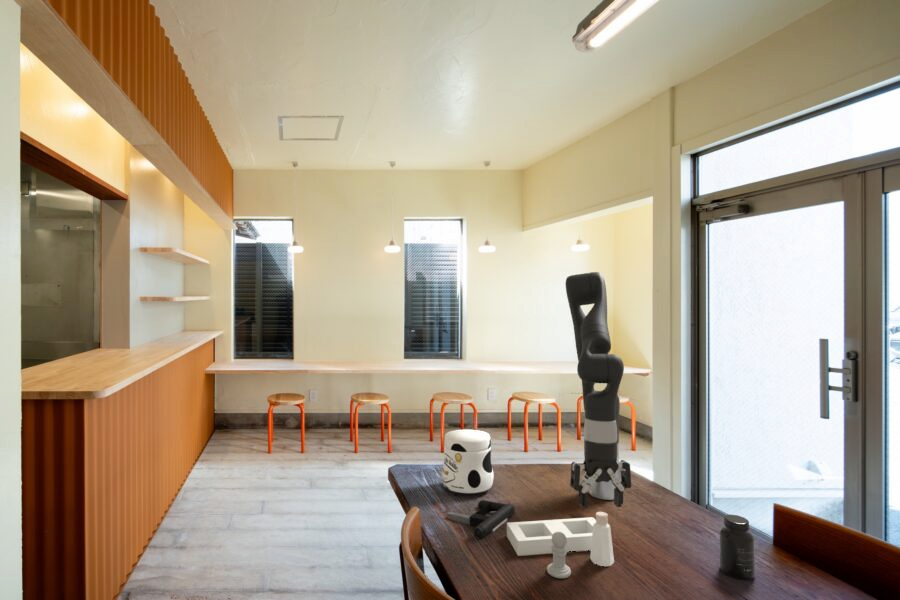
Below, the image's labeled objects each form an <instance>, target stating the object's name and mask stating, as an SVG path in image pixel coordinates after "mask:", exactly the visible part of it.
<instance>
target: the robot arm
mask: <svg viewBox="0 0 900 600" xmlns="http://www.w3.org/2000/svg"><path fill="white" fill-rule="evenodd" d="M565 293H566V297H567V302H568V307H569V311H570V315H571V320H572V325H573V331H574V332H573V333H574V342H575V349H576V354H577V361H578V363H577V368H576V369H577V370H576V371H577V375H578V377H579V379H580V380H581V387H582V388H581V389H582V400H583V401H582V402H583V410H584V415H585V418H584V426H583V434H584V436H583V446H584V447H583V448H584V449H583V453H584V454H583V456H584V460H583V463H582V462H581V463H580V462H579V463H578V462H575V461H572V462H571V465H570V482H569V486H570V487H571V488H572V489H573V490H574V491H576V492H577V493H578V495H577V496H578V504H579V505H580V507H581V508H582V509H583V510H587V509H588V493H589V495H590V496H591V497H593V498H595V499H596V498H597V499H599V500H605V501H607V500H608V501H611V500H612V501H613V503H614V505H615V506H616V507H617V508H622V505H624V491H625V490H626V489H631V487H632V478H631V477H632V474H631V464H630V463H629V462H627V461H626V460H624V459H621V460H620V439H619V438H620V435H619V434H620V409H621V407H620V406H621V405H620V403H621V402H620V397H619V395H618V393H619V390H620V385H621V381H622V379H623V376H624V369H625V368H624V367H625V366H624V362H623V360H622V358H621V357H620V356H619V355H617V354H615V353H610V352H611V349H612V342H611V336H610V332H609V326H608V298H607V286H606V281H605V278H604V275H603V274H602V273H601V272H598V271H593V272H587V273H579V274H577V273H576V274H573V275H569V276H567V277H566V280H565ZM588 305H593V306H592V307H591V309H590V311H589V312H587V314H586V315H585V313H584V310H583V309H582V307H581V306H588ZM595 384H606V386H605V388H604V389H603V390H596V389H595ZM583 471H585V472H584V474H583V475H582V476H581V473H582V472H583ZM580 479H581V480H580ZM588 490H589V492H588V493H587V491H588Z"/></svg>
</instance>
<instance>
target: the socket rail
mask: <svg viewBox="0 0 900 600" xmlns="http://www.w3.org/2000/svg"><path fill="white" fill-rule="evenodd" d="M595 522H596V518H594V517H591V516H590V517H576V518H575V517H574V518H561V519H560V518H559V519H558V518H557V519H544V520H531V521H530V520H527V521H514V522H513V521H512V522H506V538H507V539H508V541H509V543H510V545H511V546H512V547H513V549H514V551H515V553H516V555H517V556H518V557H519V556H520V557H521V556H535V555H546V554H552V545H553V543H552V535H553V534H554V533H555V532H562V533H563V534H564V535H565V536H566V539H567V542H566V545H565V546H566V548H567V550H566V552H567V553H573V552H572V551H576V552H589V551H591V544H592V534H593V525H594V523H595ZM588 550H589V551H588ZM569 551H571V552H569Z"/></svg>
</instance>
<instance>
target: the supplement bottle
mask: <svg viewBox="0 0 900 600" xmlns="http://www.w3.org/2000/svg"><path fill="white" fill-rule="evenodd" d="M723 520H724V521H723V526H722V527H721V528H720V529H719V533H718V534H719V536H718V537H719V540H718V541H719V546H718V547H719V567H720V569H721V571H722V572H723V573H724V574H726V575H728V576H729V577H731V578H734V579H736V580H743V581H749V580H753V578H755V576H756V553H755V551H756V548H755V547H756V545H755V544H756V543H755V537H754V536H753V534H752V533H751V532H750V522H749V520H748V519H747V518H745V517H744V516H741V515H737V514H726V515H724V517H723Z"/></svg>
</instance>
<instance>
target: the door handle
mask: <svg viewBox="0 0 900 600" xmlns="http://www.w3.org/2000/svg"><path fill="white" fill-rule="evenodd" d="M477 507H478V509H479V510H477V511H476V512H475V513H472V515H468V514H464V513H459V512H453V511H449V512H447V514H446V518H447V519H448V520H451V521H452V520H453V521H456V522H459V523H462V524H466V525H469V526H470V527H472V528H474V530H473V534H474V537H476V538H477V539H481V538H484V537H485V536H487V535H488V534H489V533H490V532H495V531H496V530H497V529H498V528H500V527H501V526H502V525H504V524H505V523H507V521H508V518H509V517H510V516H511V515H513V514H514V515H515V514H516V513H514V512H515V506H514V504H512V503H509V502H508V503H506V504H505V503H501V502H496V501H490V500H489V501H488V500H486V499H485V500H484V499H482V500H480V501H478V503H477ZM488 514H490V516H489V515H488Z"/></svg>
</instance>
